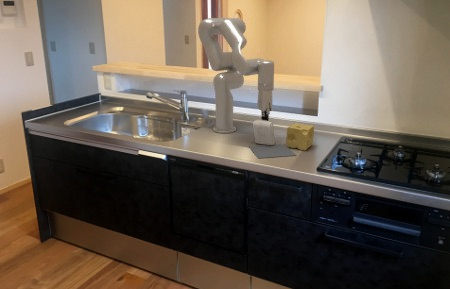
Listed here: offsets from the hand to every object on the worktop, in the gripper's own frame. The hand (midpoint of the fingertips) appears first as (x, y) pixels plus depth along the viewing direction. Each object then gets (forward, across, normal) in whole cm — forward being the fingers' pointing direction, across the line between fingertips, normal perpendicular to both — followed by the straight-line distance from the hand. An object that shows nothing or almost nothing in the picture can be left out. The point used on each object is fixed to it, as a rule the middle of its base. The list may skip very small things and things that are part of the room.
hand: (264, 123), depth 198 cm
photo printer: (+9, +2, 0) cm, 10 cm away
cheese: (+10, +9, +15) cm, 20 cm away
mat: (+10, +13, 0) cm, 16 cm away
